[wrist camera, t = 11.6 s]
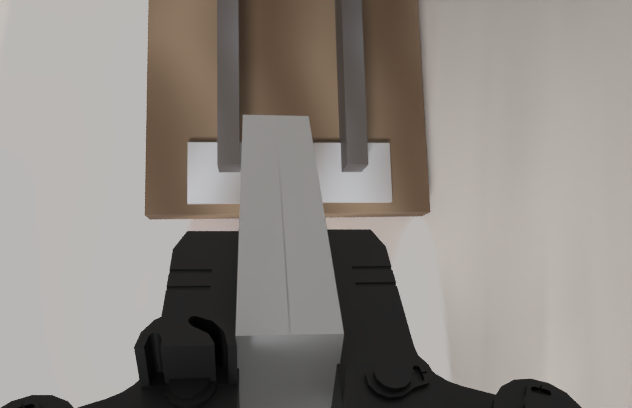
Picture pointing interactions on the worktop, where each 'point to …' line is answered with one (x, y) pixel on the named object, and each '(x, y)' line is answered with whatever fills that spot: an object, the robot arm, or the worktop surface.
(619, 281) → the worktop surface
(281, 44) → the switch panel
